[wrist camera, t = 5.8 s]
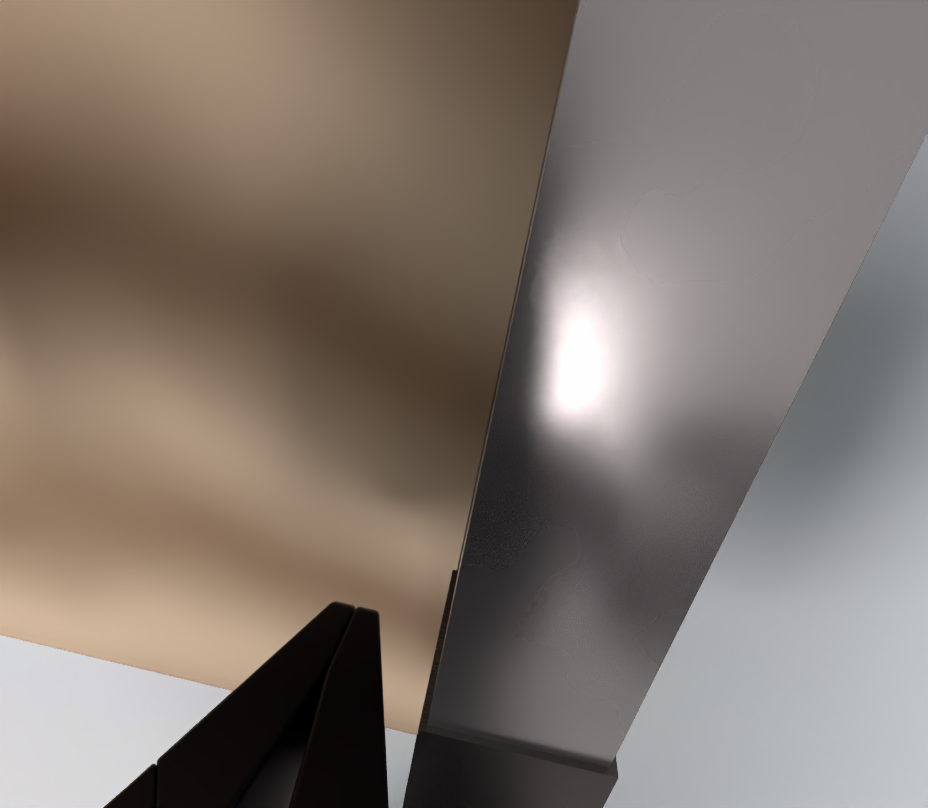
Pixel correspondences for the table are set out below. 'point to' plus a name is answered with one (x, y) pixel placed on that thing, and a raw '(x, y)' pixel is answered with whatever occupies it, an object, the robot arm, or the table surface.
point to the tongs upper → (654, 359)
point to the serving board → (255, 315)
